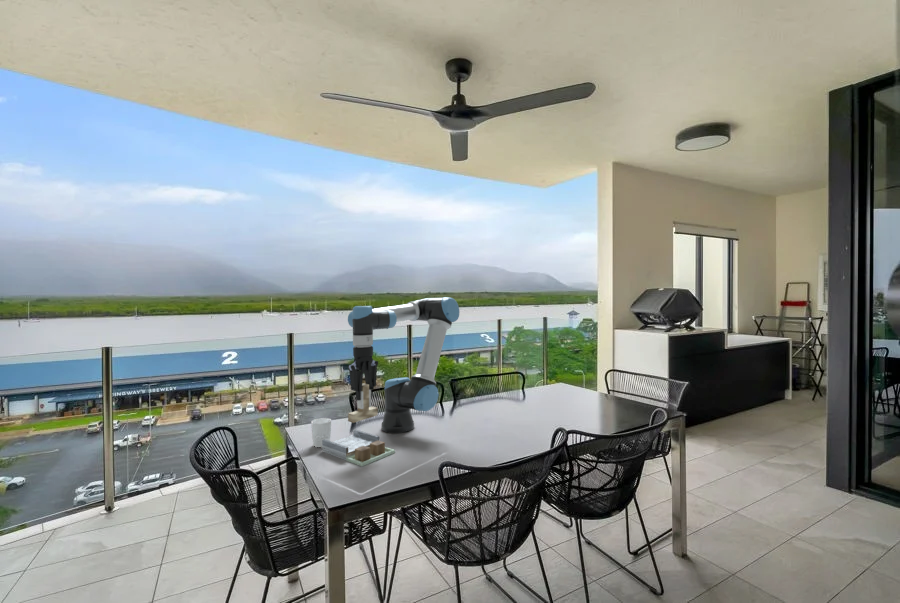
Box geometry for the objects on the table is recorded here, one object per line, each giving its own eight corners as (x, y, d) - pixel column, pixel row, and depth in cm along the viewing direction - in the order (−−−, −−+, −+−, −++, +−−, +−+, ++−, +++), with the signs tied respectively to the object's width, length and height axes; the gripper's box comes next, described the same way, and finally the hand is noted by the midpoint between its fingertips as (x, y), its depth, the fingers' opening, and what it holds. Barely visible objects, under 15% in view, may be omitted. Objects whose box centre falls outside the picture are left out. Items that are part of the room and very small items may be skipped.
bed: (355, 441, 166) (355, 429, 166) (379, 448, 157) (379, 436, 157) (322, 452, 153) (322, 439, 154) (346, 461, 144) (346, 448, 144)
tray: (379, 448, 157) (379, 445, 157) (395, 453, 151) (394, 449, 151) (346, 461, 144) (346, 457, 144) (362, 467, 139) (362, 463, 139)
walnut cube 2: (377, 440, 153) (384, 442, 151) (377, 450, 153) (384, 452, 151) (369, 443, 150) (376, 445, 148) (370, 453, 150) (376, 456, 148)
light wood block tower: (372, 413, 156) (372, 381, 156) (377, 415, 155) (378, 382, 154) (348, 421, 147) (348, 386, 147) (353, 422, 145) (353, 388, 145)
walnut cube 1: (363, 445, 148) (370, 447, 145) (363, 456, 148) (370, 458, 145) (354, 448, 145) (361, 451, 142) (354, 459, 145) (361, 462, 142)
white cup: (335, 443, 164) (335, 419, 164) (320, 449, 157) (320, 424, 157) (322, 440, 168) (322, 417, 168) (307, 446, 161) (307, 421, 161)
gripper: (352, 348, 142) (353, 413, 142) (385, 344, 155) (386, 404, 155) (339, 347, 146) (340, 410, 146) (372, 343, 159) (373, 401, 159)
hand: (364, 407), depth 150 cm, fingers closed on light wood block tower, 3 cm apart
